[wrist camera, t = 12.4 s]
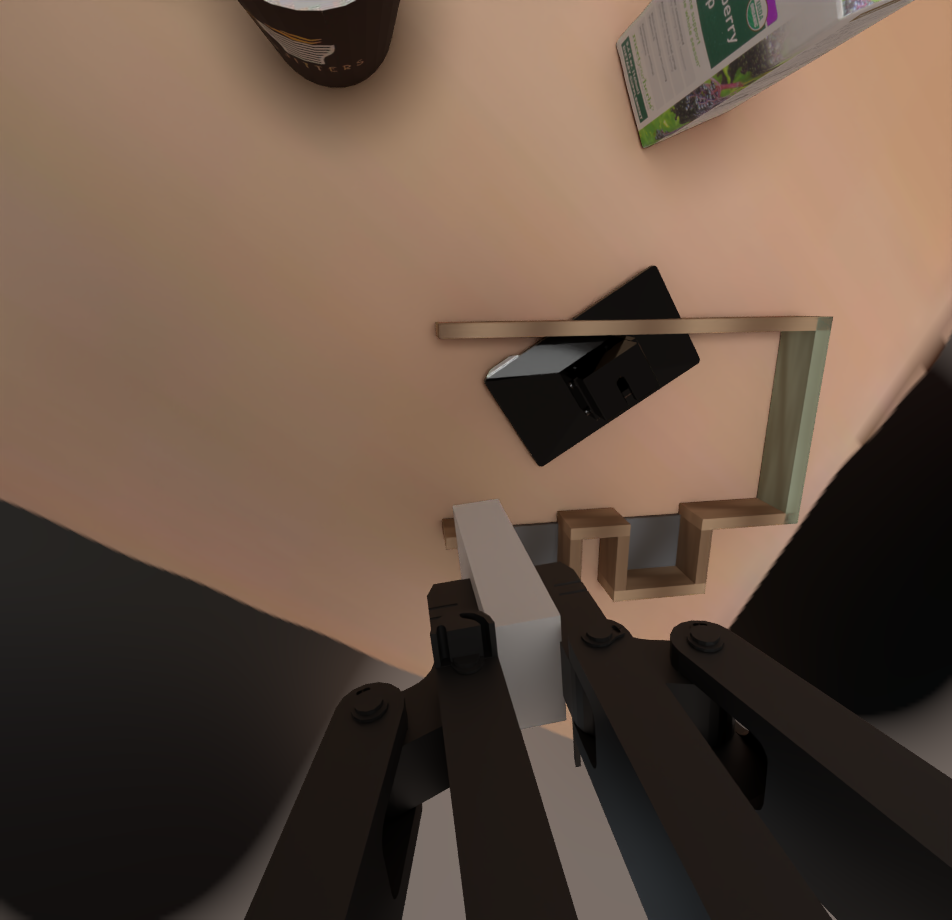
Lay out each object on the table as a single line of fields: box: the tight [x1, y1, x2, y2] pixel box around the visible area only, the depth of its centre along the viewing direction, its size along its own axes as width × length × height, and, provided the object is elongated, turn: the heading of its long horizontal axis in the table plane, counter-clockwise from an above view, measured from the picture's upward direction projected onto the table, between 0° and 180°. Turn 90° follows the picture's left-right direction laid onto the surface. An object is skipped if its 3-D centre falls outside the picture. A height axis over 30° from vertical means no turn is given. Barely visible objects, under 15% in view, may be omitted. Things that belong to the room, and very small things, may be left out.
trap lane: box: [436, 316, 833, 602], centre depth 34 cm, size 24×18×3 cm
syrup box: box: [616, 0, 914, 148], centre depth 23 cm, size 6×6×14 cm
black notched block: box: [484, 266, 700, 466], centre depth 31 cm, size 12×7×5 cm, turn 123°
